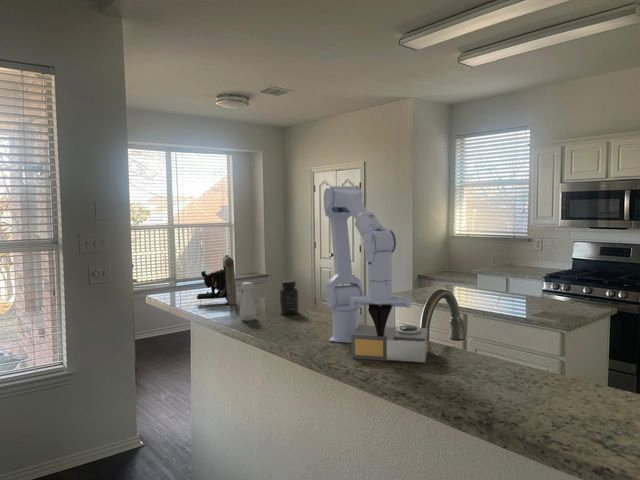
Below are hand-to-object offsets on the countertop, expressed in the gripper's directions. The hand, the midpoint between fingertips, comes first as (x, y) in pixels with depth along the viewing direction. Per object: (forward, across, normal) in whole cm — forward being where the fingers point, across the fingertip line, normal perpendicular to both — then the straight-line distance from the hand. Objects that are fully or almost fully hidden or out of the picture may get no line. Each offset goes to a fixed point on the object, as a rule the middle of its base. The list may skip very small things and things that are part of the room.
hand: (380, 335), depth 112 cm
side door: (+6, +6, 0) cm, 8 cm away
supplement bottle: (+7, -41, +48) cm, 63 cm away
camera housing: (+6, +2, +6) cm, 9 cm away
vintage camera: (+7, -77, +59) cm, 97 cm away
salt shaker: (+7, -52, +36) cm, 64 cm away
